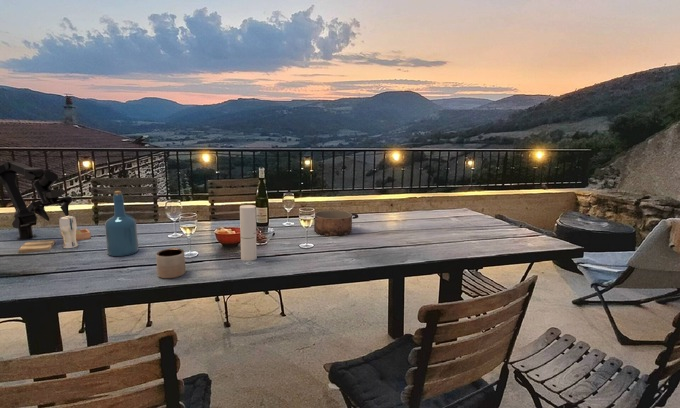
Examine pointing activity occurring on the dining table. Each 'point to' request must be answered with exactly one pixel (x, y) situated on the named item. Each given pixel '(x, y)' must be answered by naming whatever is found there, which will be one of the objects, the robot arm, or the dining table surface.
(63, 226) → the metal goblet
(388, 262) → the dining table surface
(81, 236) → the terracotta dish
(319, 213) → the cooking pot
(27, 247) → the oak board
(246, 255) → the cylindrical container
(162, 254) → the planter
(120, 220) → the wine bottle
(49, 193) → the robot arm
